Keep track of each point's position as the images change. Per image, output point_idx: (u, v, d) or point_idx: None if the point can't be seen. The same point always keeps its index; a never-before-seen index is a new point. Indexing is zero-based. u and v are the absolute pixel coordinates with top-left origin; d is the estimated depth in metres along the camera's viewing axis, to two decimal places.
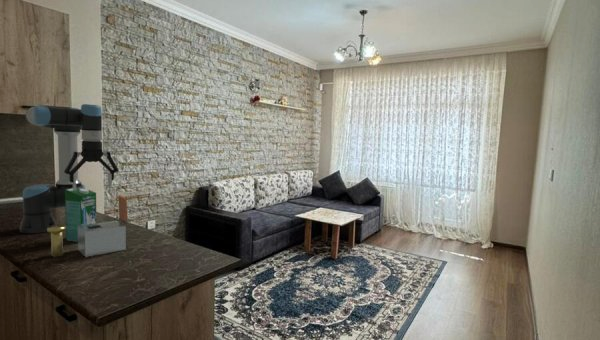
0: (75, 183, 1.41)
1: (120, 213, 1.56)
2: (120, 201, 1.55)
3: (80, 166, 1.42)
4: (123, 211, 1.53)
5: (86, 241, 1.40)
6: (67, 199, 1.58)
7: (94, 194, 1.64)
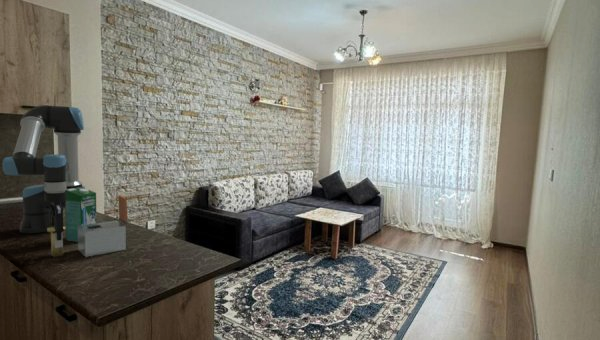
0: None
1: (120, 213, 1.56)
2: (120, 201, 1.55)
3: (51, 218, 1.41)
4: (123, 211, 1.53)
5: (86, 241, 1.40)
6: (67, 199, 1.58)
7: (94, 194, 1.64)
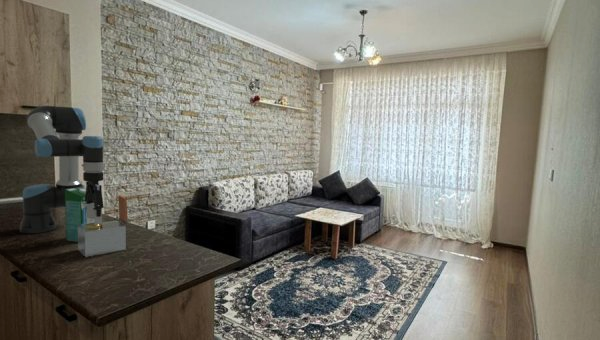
0: (87, 211, 1.50)
1: (120, 213, 1.56)
2: (120, 201, 1.55)
3: (88, 196, 1.48)
4: (123, 211, 1.53)
5: (86, 241, 1.40)
6: (67, 199, 1.58)
7: None
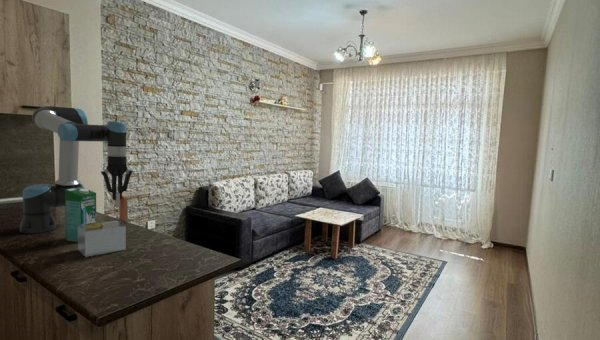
0: (117, 200, 1.52)
1: (120, 213, 1.56)
2: (121, 201, 1.55)
3: (115, 182, 1.51)
4: (123, 211, 1.53)
5: (86, 241, 1.40)
6: (67, 199, 1.58)
7: (94, 194, 1.64)
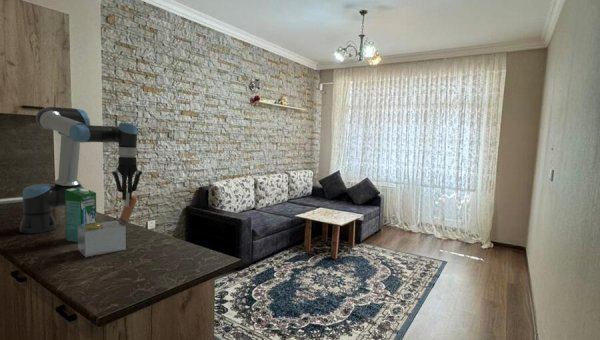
0: (127, 200, 1.55)
1: (123, 213, 1.57)
2: (129, 201, 1.58)
3: (126, 182, 1.54)
4: (128, 211, 1.55)
5: (86, 241, 1.40)
6: (67, 199, 1.58)
7: (94, 194, 1.64)
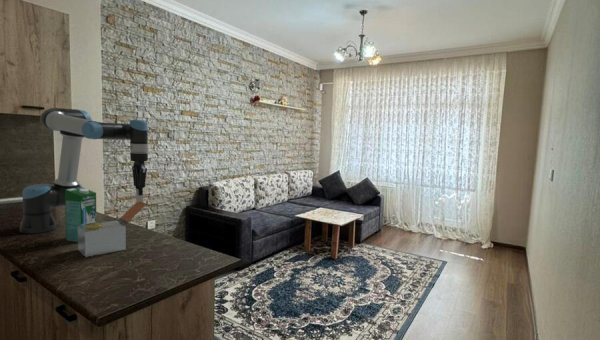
0: (136, 195, 1.59)
1: (126, 214, 1.58)
2: (136, 205, 1.61)
3: (136, 178, 1.59)
4: (132, 212, 1.56)
5: (86, 241, 1.40)
6: (67, 199, 1.58)
7: (94, 194, 1.64)
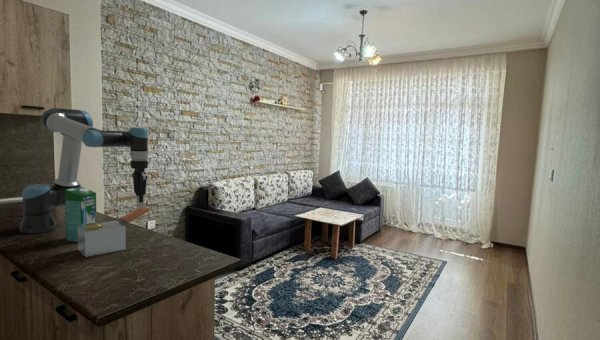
0: (137, 202, 1.59)
1: (128, 215, 1.59)
2: (140, 209, 1.62)
3: (136, 185, 1.59)
4: (135, 215, 1.57)
5: (86, 241, 1.40)
6: (67, 199, 1.58)
7: (94, 194, 1.64)
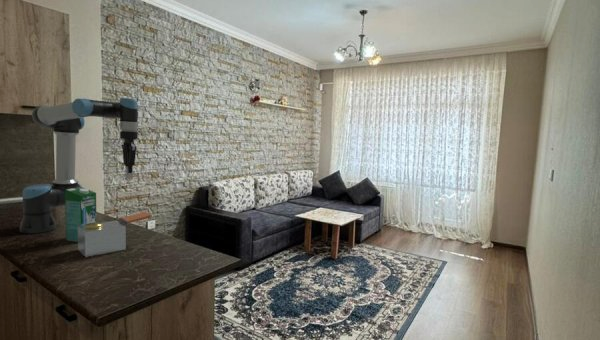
0: (126, 173, 1.61)
1: (129, 217, 1.59)
2: (142, 214, 1.63)
3: (125, 156, 1.61)
4: (136, 217, 1.58)
5: (86, 241, 1.40)
6: (67, 199, 1.58)
7: (94, 194, 1.64)
